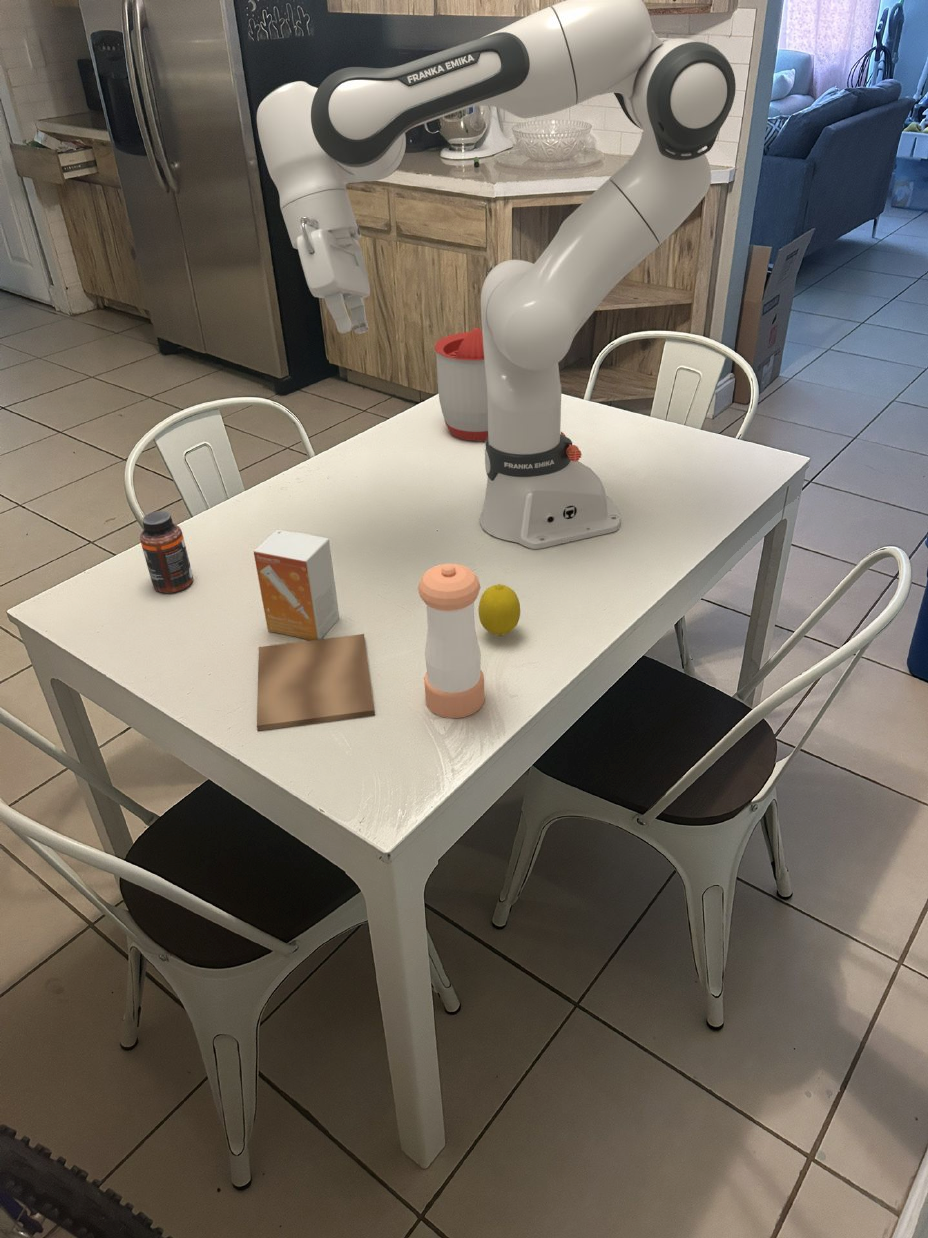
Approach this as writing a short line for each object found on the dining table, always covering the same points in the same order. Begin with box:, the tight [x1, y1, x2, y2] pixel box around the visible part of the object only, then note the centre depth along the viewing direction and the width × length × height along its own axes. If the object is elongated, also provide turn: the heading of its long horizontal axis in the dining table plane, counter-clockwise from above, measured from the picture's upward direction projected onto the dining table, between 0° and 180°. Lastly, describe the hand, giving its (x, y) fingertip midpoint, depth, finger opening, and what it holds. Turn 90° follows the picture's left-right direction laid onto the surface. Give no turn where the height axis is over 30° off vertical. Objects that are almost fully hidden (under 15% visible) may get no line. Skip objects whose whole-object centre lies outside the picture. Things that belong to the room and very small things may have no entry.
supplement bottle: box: [139, 510, 194, 594], centre depth 134 cm, size 6×6×11 cm
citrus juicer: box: [434, 327, 488, 442], centre depth 174 cm, size 16×17×20 cm
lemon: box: [477, 584, 521, 637], centre depth 122 cm, size 6×6×8 cm
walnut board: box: [256, 633, 376, 732], centre depth 117 cm, size 14×16×1 cm
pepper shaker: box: [417, 563, 486, 719], centre depth 108 cm, size 7×7×19 cm
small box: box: [253, 529, 340, 641], centre depth 124 cm, size 8×6×13 cm
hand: (354, 332), depth 123 cm, fingers open, 8 cm apart
